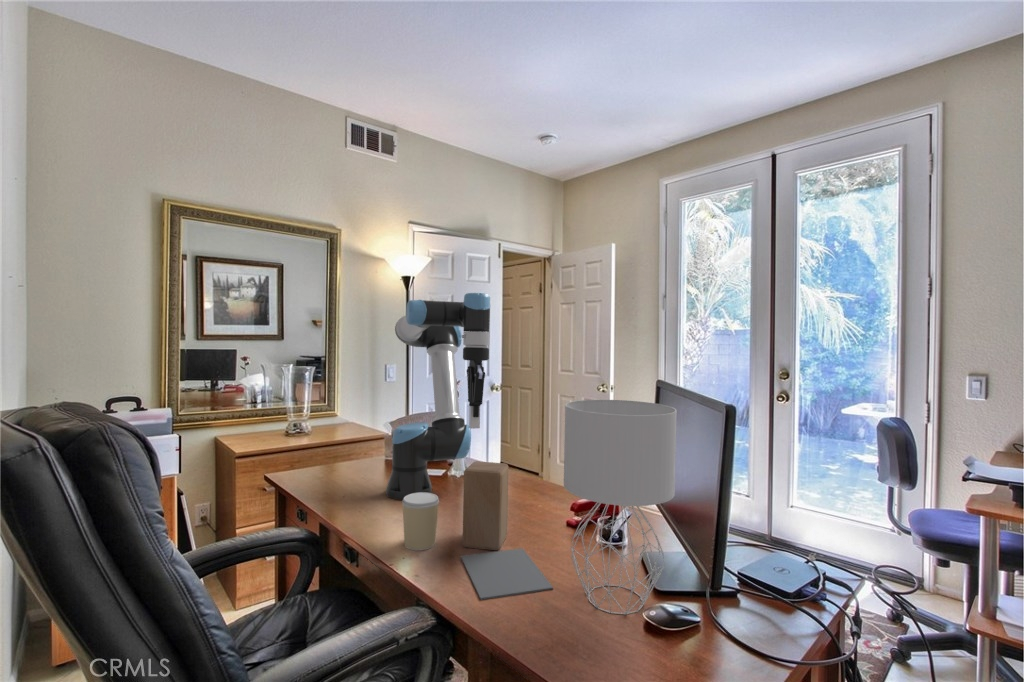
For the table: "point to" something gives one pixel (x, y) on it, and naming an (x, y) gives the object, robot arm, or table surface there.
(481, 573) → the mat
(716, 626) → the table surface
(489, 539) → the block
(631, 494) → the table lamp
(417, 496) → the coffee cup
